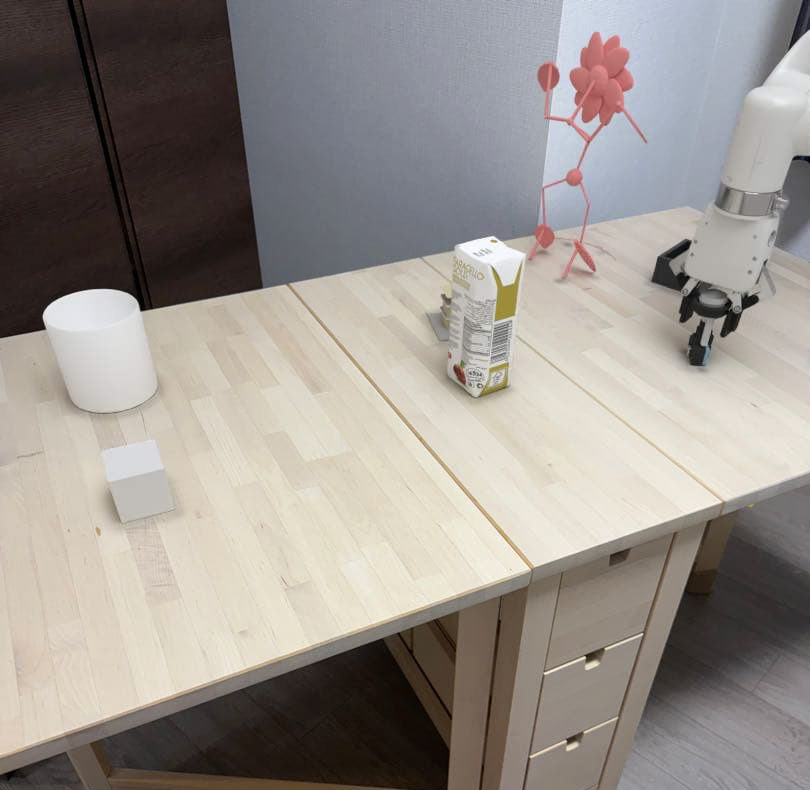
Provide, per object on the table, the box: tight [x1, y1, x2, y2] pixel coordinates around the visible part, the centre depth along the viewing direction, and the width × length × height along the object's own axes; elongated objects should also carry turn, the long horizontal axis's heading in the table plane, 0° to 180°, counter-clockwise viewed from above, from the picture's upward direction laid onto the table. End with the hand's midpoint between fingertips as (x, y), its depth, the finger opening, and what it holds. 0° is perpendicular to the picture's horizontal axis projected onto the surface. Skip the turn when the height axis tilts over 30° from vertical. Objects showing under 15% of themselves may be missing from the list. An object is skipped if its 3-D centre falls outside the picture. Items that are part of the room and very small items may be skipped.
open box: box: [651, 238, 713, 294], centre depth 130 cm, size 9×11×4 cm
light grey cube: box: [100, 438, 176, 524], centre depth 84 cm, size 6×6×6 cm
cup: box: [42, 288, 159, 414], centre depth 99 cm, size 12×12×12 cm
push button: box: [686, 288, 733, 366], centre depth 109 cm, size 7×5×10 cm
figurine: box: [528, 31, 648, 291], centre depth 124 cm, size 15×26×35 cm, turn 33°
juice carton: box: [447, 235, 527, 398], centre depth 100 cm, size 8×9×19 cm
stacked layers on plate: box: [426, 284, 452, 341], centre depth 116 cm, size 10×9×6 cm
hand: (705, 325), depth 109 cm, fingers open, 5 cm apart
